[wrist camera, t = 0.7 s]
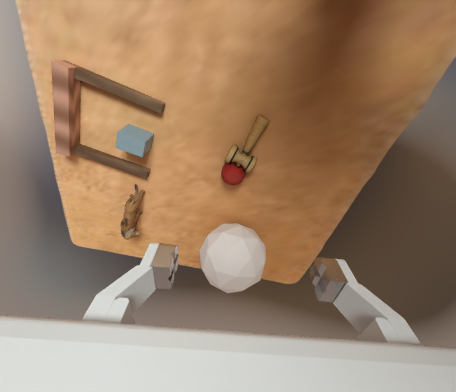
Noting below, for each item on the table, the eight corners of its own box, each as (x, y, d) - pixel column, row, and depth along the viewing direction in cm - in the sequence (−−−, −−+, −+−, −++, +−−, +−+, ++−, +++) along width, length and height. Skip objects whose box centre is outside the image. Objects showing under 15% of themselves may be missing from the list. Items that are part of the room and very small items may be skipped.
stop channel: (65, 60, 43) (51, 60, 40) (165, 103, 47) (160, 106, 44) (67, 146, 53) (56, 152, 50) (148, 175, 57) (143, 182, 54)
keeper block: (129, 124, 50) (117, 131, 45) (154, 133, 51) (145, 142, 46) (127, 139, 52) (115, 147, 47) (150, 148, 53) (142, 157, 48)
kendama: (244, 106, 48) (212, 173, 55) (252, 111, 43) (216, 184, 50) (271, 121, 51) (237, 182, 58) (281, 127, 46) (243, 193, 53)
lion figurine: (146, 223, 67) (136, 243, 60) (130, 220, 67) (117, 241, 59) (145, 184, 59) (132, 203, 52) (126, 181, 59) (110, 199, 51)
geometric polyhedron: (218, 217, 74) (181, 230, 56) (274, 219, 65) (250, 236, 47) (221, 269, 75) (186, 297, 58) (276, 278, 66) (254, 316, 48)
